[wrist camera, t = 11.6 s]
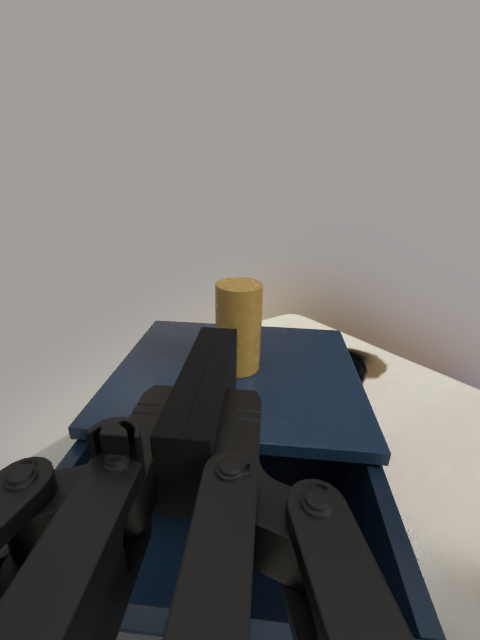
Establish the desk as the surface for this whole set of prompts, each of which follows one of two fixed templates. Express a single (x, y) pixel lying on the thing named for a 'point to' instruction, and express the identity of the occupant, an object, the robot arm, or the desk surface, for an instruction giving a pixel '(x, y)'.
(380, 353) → the desk surface
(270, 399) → the lid
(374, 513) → the bin
